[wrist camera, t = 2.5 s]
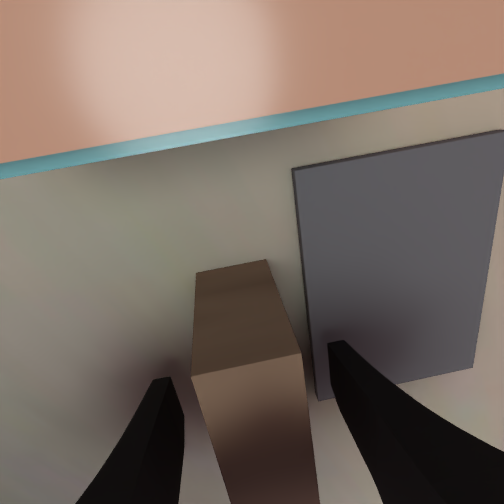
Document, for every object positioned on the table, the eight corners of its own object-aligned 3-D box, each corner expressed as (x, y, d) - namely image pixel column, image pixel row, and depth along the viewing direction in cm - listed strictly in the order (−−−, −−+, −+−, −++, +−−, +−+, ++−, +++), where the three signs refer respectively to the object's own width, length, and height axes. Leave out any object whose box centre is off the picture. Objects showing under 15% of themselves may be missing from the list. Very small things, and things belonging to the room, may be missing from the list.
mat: (466, 361, 15) (472, 367, 15) (315, 394, 15) (318, 401, 15) (500, 129, 11) (511, 130, 11) (291, 168, 11) (294, 171, 10)
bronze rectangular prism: (289, 412, 15) (324, 542, 11) (236, 424, 15) (248, 560, 11) (265, 257, 12) (301, 353, 8) (196, 271, 12) (191, 377, 7)
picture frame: (333, 89, 10) (665, 64, 3) (61, 137, 10) (-379, 254, 2) (329, 19, 9) (771, -266, 2) (34, 69, 9) (-717, -65, 2)
